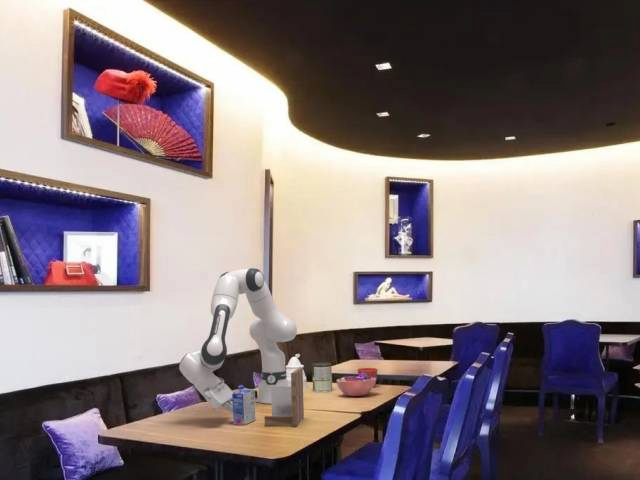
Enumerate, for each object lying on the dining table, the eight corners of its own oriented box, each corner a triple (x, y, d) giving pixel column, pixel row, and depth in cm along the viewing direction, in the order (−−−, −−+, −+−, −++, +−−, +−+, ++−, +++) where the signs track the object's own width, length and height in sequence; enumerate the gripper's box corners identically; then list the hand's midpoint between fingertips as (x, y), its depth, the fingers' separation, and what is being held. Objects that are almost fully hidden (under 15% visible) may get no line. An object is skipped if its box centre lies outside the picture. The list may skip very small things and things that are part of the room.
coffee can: (308, 391, 318) (308, 363, 319) (325, 389, 324) (324, 362, 325) (320, 393, 309) (319, 365, 311) (336, 391, 315) (335, 363, 317)
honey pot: (306, 385, 338) (305, 352, 340) (306, 389, 325) (305, 355, 327) (283, 386, 338) (282, 353, 340) (282, 389, 325) (281, 355, 327)
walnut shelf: (273, 417, 249) (272, 368, 251) (303, 417, 247) (302, 367, 249) (263, 427, 231) (262, 373, 233) (296, 427, 230) (294, 373, 231)
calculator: (219, 392, 301) (245, 387, 311) (220, 401, 301) (245, 395, 311) (232, 394, 293) (257, 389, 303) (232, 403, 293) (258, 397, 303)
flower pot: (376, 385, 331) (375, 367, 332) (379, 388, 320) (378, 369, 321) (357, 386, 330) (356, 368, 331) (359, 389, 320) (358, 370, 321)
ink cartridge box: (244, 419, 247) (243, 383, 248) (256, 420, 245) (255, 383, 246) (232, 424, 238) (231, 387, 239) (244, 425, 236) (244, 387, 237)
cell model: (331, 395, 303) (330, 372, 304) (367, 391, 310) (367, 369, 311) (344, 400, 287) (343, 375, 288) (382, 396, 294) (381, 372, 295)
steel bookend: (274, 417, 250) (273, 385, 251) (300, 417, 248) (299, 384, 250) (271, 419, 246) (271, 386, 247) (298, 419, 244) (297, 386, 245)
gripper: (207, 384, 234) (232, 410, 232) (222, 377, 254) (246, 401, 252) (196, 396, 234) (221, 422, 232) (212, 388, 255) (235, 412, 252)
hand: (234, 411), depth 242 cm, fingers closed
